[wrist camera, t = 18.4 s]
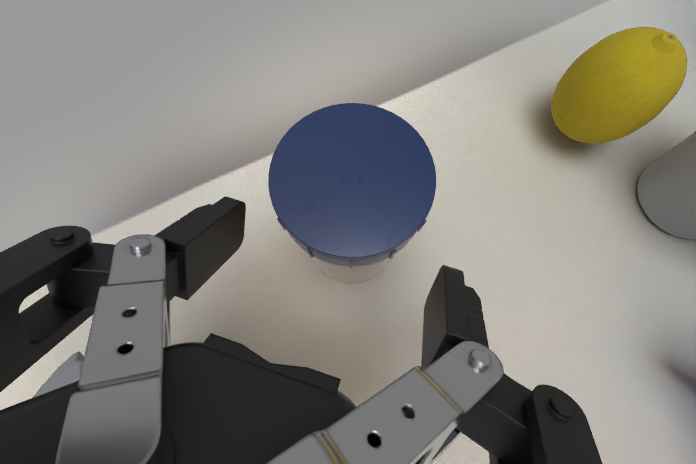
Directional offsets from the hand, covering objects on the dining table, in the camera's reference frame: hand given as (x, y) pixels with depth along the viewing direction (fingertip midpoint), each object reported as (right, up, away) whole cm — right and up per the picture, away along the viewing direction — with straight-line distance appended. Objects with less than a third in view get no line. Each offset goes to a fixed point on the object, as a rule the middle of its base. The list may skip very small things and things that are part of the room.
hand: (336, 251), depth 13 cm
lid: (+1, +3, -1) cm, 3 cm away
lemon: (+16, +8, +11) cm, 21 cm away
